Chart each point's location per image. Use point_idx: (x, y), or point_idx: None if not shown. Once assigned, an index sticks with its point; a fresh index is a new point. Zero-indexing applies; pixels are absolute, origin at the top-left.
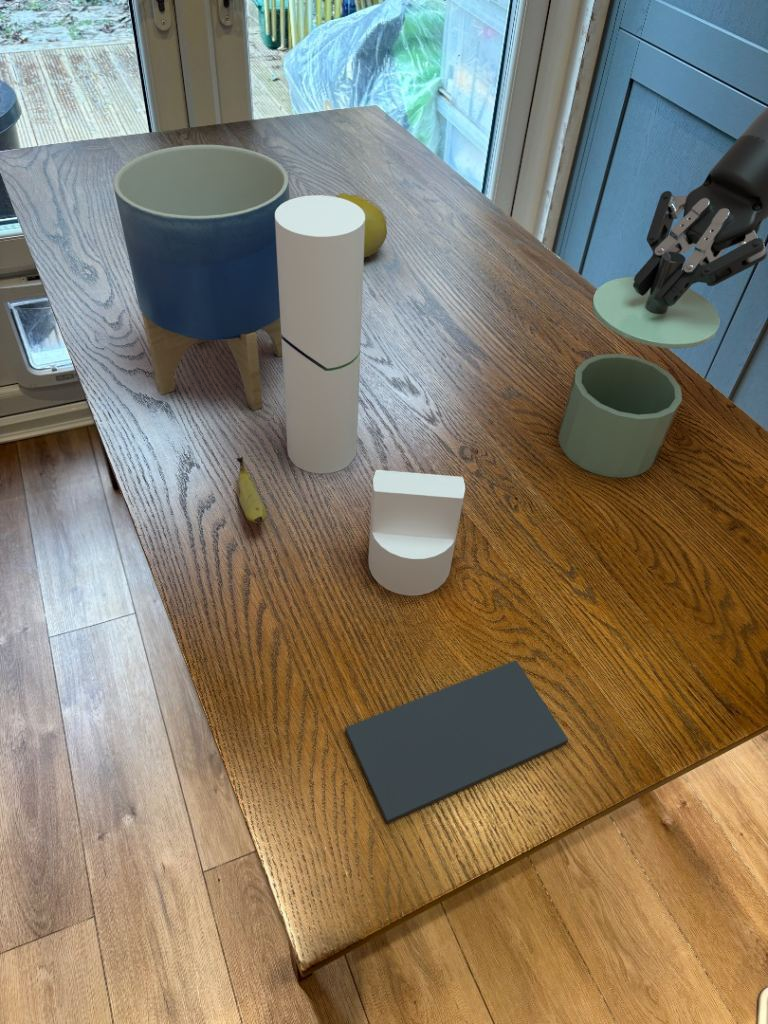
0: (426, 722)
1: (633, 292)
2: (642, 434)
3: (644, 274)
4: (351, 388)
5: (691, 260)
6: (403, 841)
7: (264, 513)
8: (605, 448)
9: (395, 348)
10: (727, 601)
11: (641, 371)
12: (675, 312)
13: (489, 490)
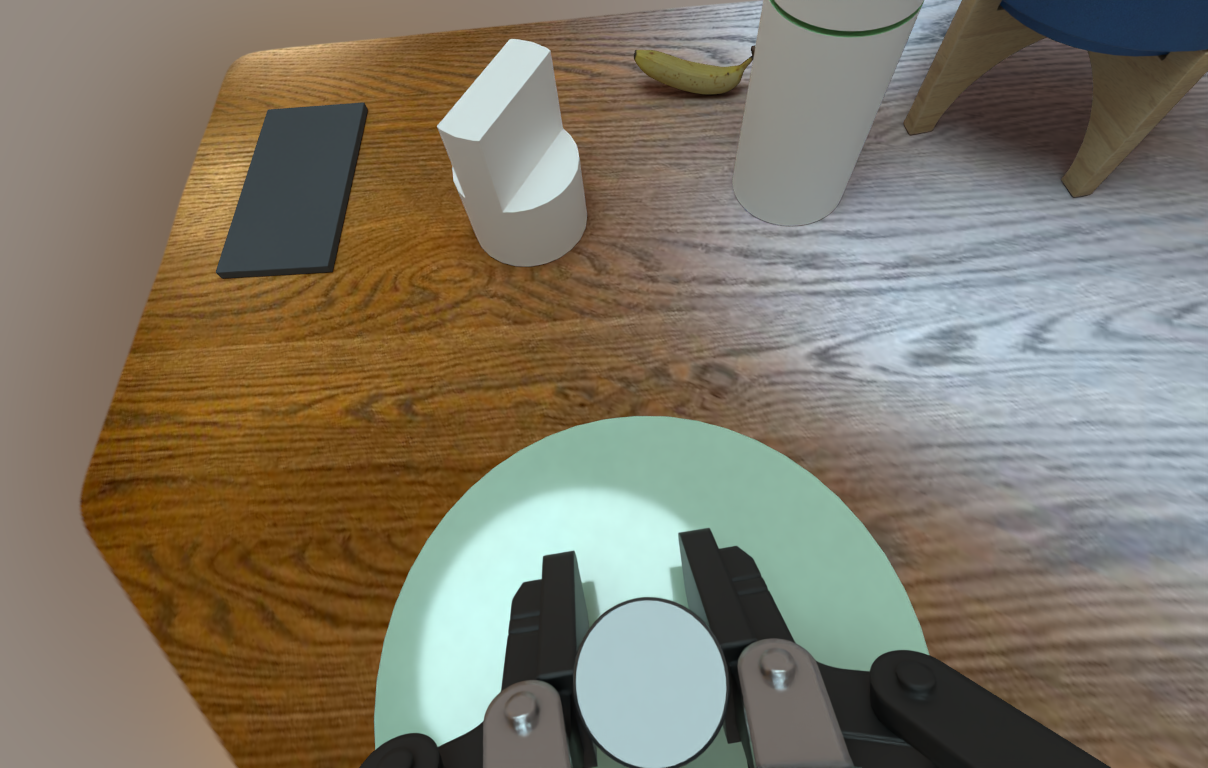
0: (323, 161)
1: None
2: None
3: (706, 562)
4: (770, 72)
5: (538, 743)
6: (252, 123)
7: (644, 62)
8: None
9: (1089, 377)
10: (221, 623)
11: None
12: None
13: (616, 373)
